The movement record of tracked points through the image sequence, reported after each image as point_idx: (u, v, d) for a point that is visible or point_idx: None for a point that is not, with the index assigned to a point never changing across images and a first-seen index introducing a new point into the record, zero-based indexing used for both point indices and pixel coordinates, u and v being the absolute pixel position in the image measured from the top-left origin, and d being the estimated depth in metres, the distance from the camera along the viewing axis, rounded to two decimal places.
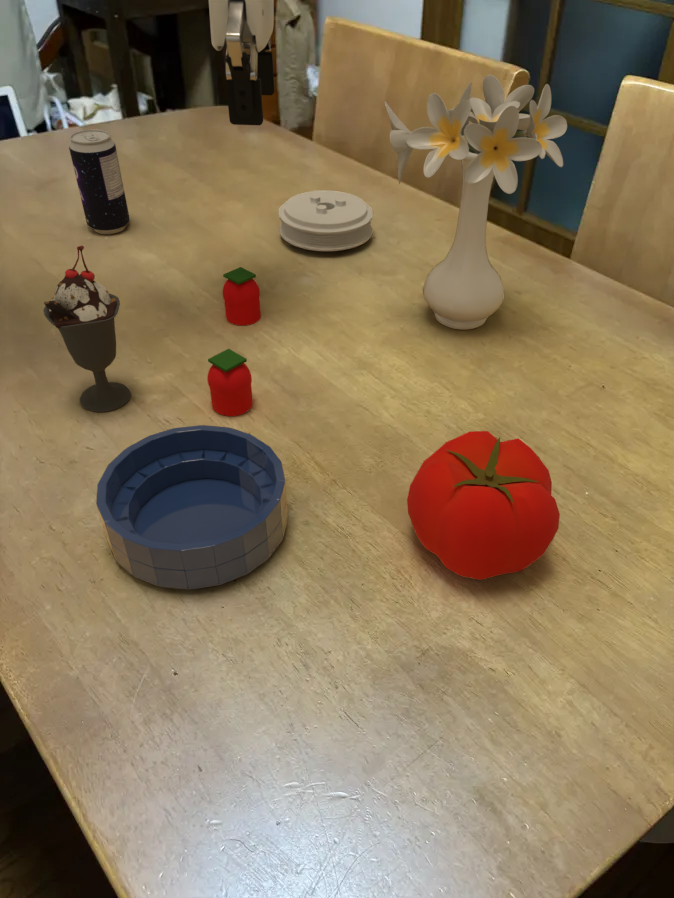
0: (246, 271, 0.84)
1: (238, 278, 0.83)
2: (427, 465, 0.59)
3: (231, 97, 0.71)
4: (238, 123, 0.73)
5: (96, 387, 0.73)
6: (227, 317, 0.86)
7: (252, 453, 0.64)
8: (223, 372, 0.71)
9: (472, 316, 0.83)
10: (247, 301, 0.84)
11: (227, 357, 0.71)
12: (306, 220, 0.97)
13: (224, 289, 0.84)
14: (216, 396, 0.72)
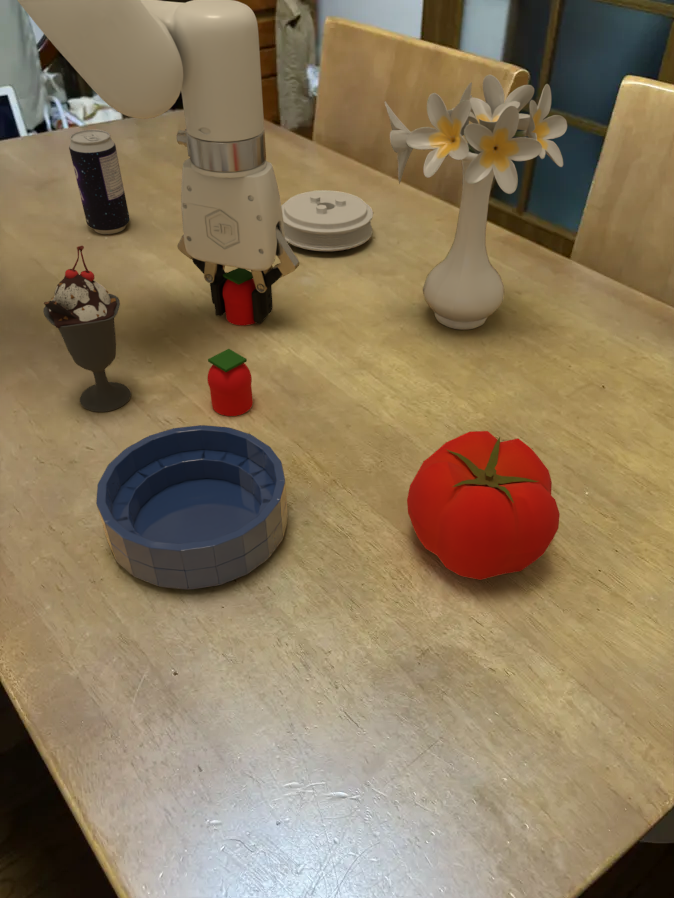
0: (246, 271, 0.84)
1: (238, 278, 0.83)
2: (427, 465, 0.59)
3: (259, 304, 0.84)
4: (262, 320, 0.86)
5: (96, 387, 0.73)
6: (227, 317, 0.86)
7: (252, 453, 0.64)
8: (223, 372, 0.71)
9: (472, 316, 0.83)
10: (247, 301, 0.84)
11: (227, 357, 0.71)
12: (306, 220, 0.97)
13: (224, 289, 0.84)
14: (216, 396, 0.72)
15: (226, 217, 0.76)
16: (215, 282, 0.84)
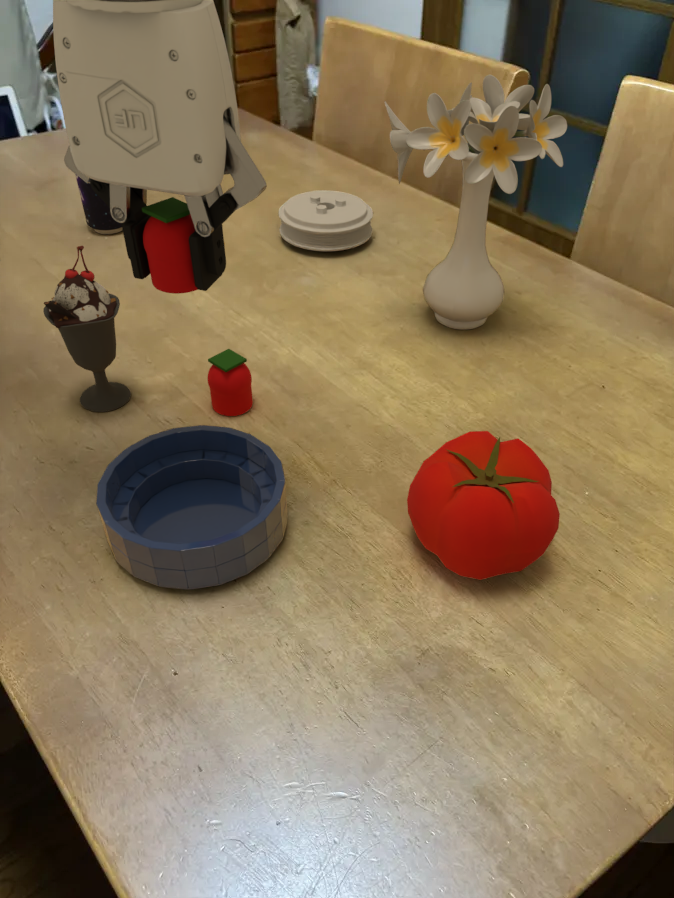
0: (181, 203, 0.51)
1: (167, 213, 0.50)
2: (427, 465, 0.59)
3: (202, 257, 0.51)
4: (209, 286, 0.53)
5: (96, 387, 0.73)
6: (153, 280, 0.53)
7: (252, 453, 0.64)
8: (223, 372, 0.71)
9: (472, 316, 0.83)
10: (182, 253, 0.51)
11: (227, 357, 0.71)
12: (306, 220, 0.97)
13: (145, 233, 0.51)
14: (216, 396, 0.72)
15: (134, 96, 0.43)
16: (129, 222, 0.51)
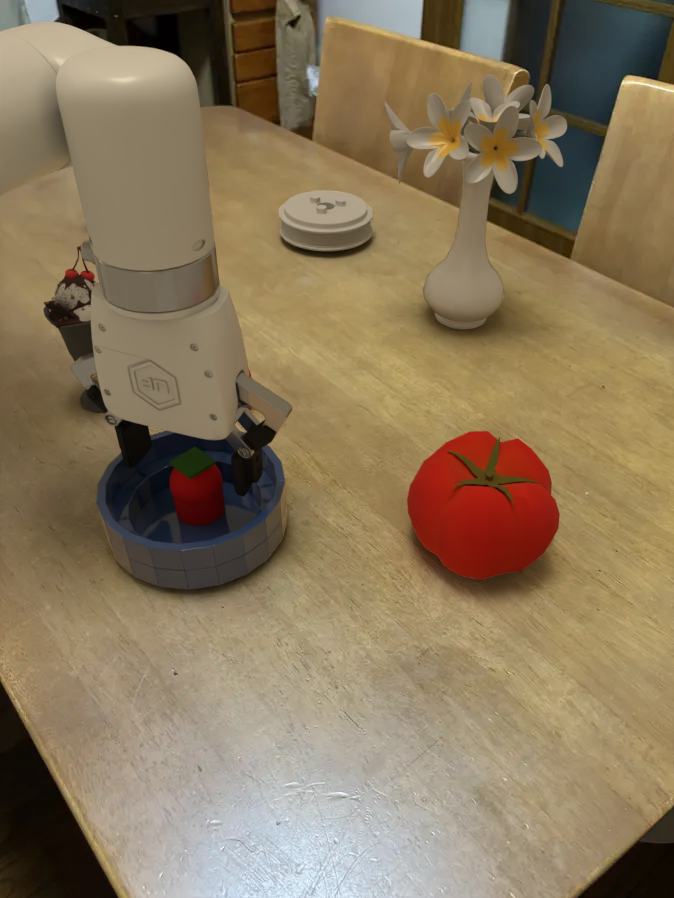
0: (202, 455, 0.60)
1: (190, 468, 0.59)
2: (427, 465, 0.59)
3: (242, 472, 0.57)
4: (247, 490, 0.58)
5: None
6: (177, 513, 0.62)
7: None
8: None
9: (472, 316, 0.83)
10: (203, 498, 0.60)
11: None
12: (306, 220, 0.97)
13: (171, 481, 0.60)
14: None
15: (159, 370, 0.50)
16: (121, 425, 0.58)
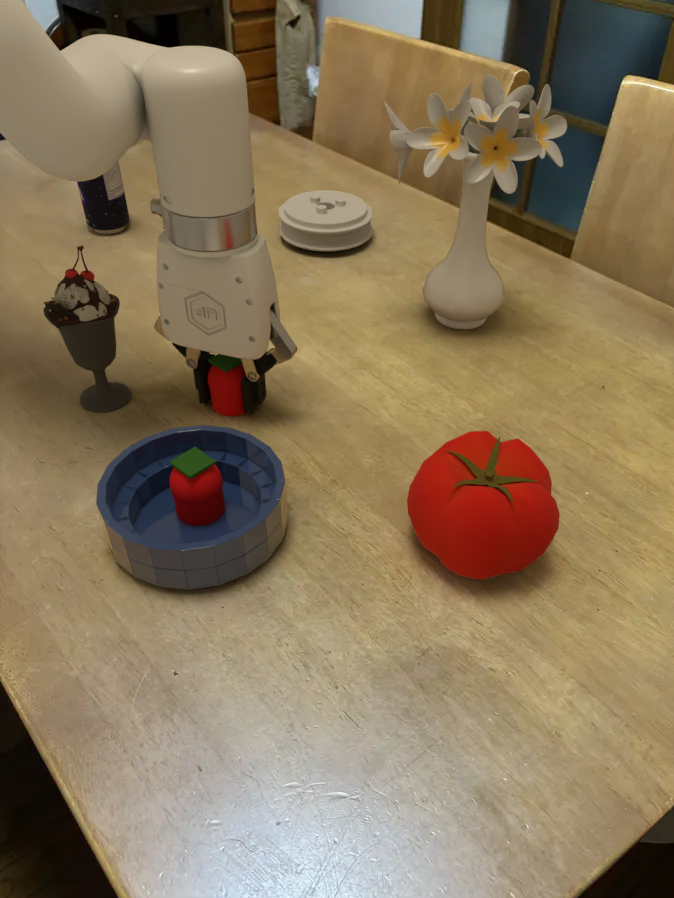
0: (202, 455, 0.60)
1: (190, 468, 0.59)
2: (427, 465, 0.59)
3: (250, 393, 0.71)
4: (254, 410, 0.73)
5: (96, 387, 0.73)
6: (177, 513, 0.62)
7: (252, 453, 0.64)
8: (223, 372, 0.71)
9: (472, 316, 0.83)
10: (203, 498, 0.60)
11: (227, 357, 0.71)
12: (306, 220, 0.97)
13: (171, 481, 0.60)
14: (216, 396, 0.72)
15: (210, 300, 0.64)
16: (199, 367, 0.72)
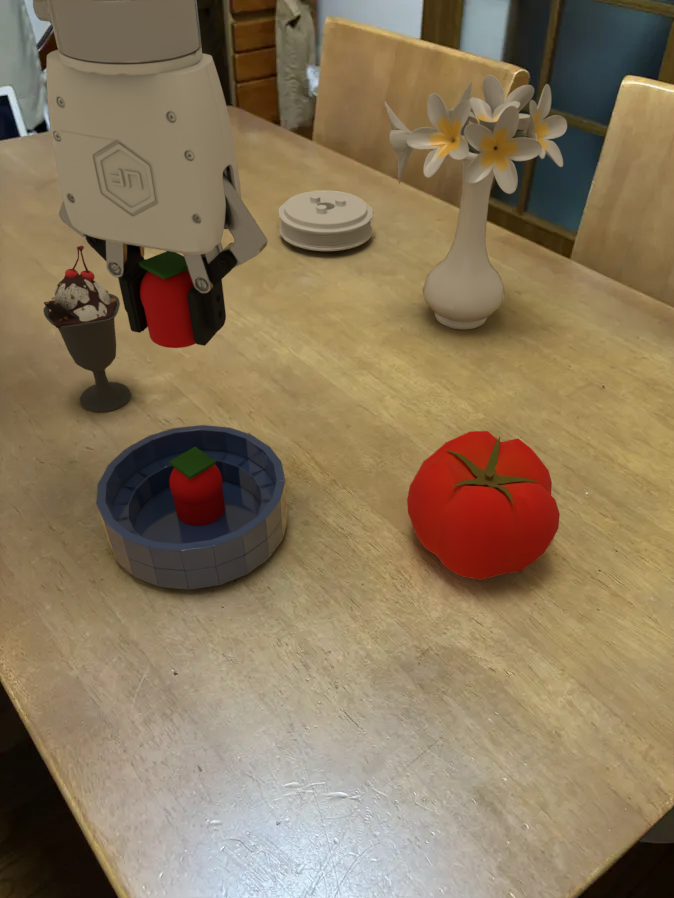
0: (202, 455, 0.60)
1: (190, 468, 0.59)
2: (427, 465, 0.59)
3: (201, 313, 0.49)
4: (208, 340, 0.51)
5: (96, 387, 0.73)
6: (177, 513, 0.62)
7: (252, 453, 0.64)
8: (160, 280, 0.49)
9: (472, 316, 0.83)
10: (203, 498, 0.60)
11: (167, 260, 0.49)
12: (306, 220, 0.97)
13: (171, 481, 0.60)
14: (153, 318, 0.50)
15: (130, 156, 0.42)
16: (126, 276, 0.49)
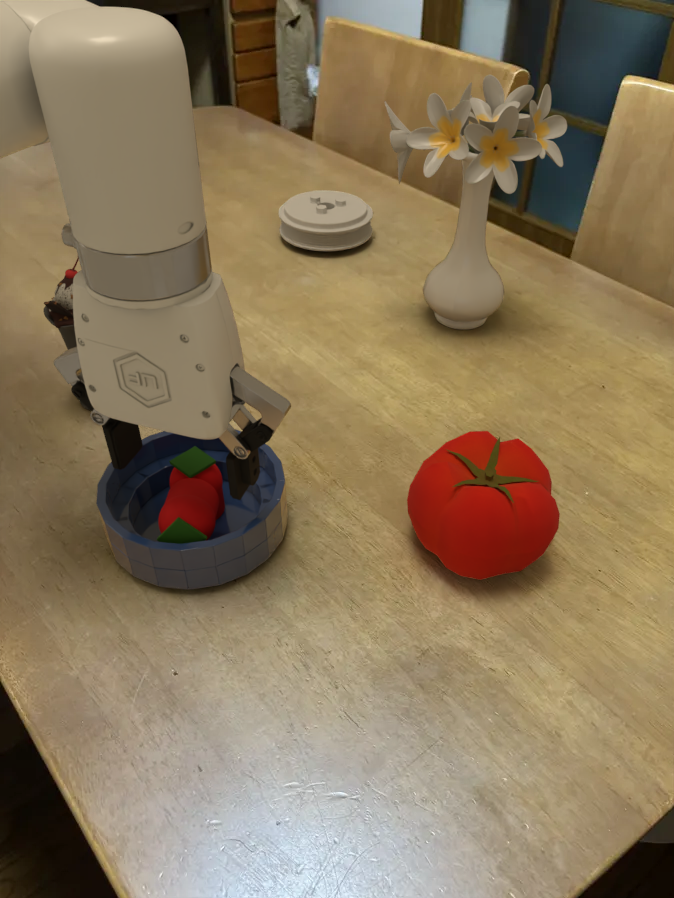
0: (202, 454, 0.60)
1: (190, 468, 0.59)
2: (427, 465, 0.59)
3: (238, 473, 0.53)
4: (243, 493, 0.55)
5: None
6: None
7: None
8: None
9: (472, 316, 0.83)
10: None
11: (181, 536, 0.55)
12: (306, 220, 0.97)
13: (171, 480, 0.60)
14: None
15: (147, 364, 0.46)
16: (109, 424, 0.54)
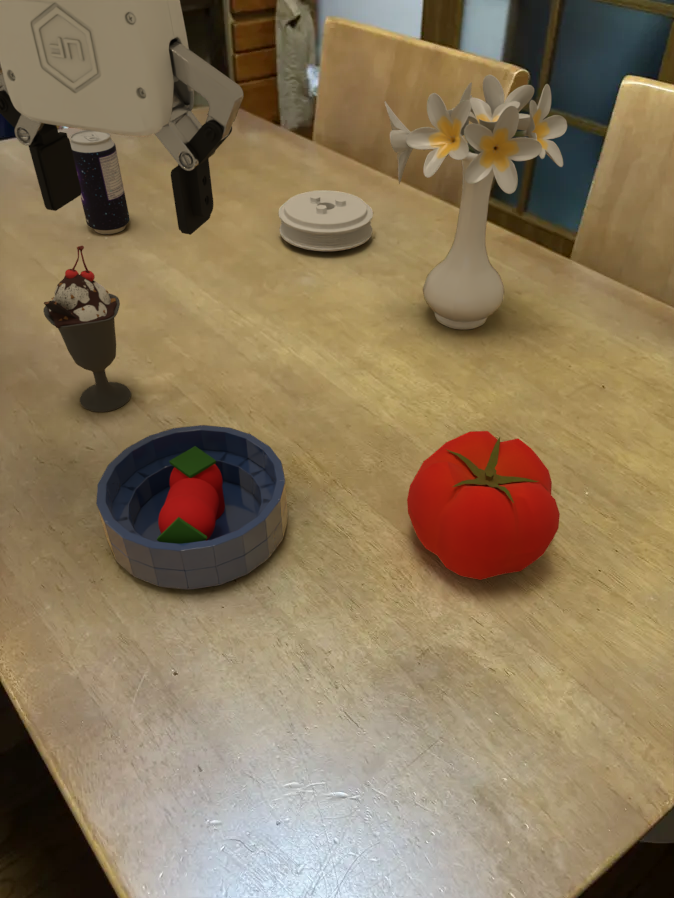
0: (202, 454, 0.60)
1: (190, 468, 0.59)
2: (427, 465, 0.59)
3: (186, 195, 0.46)
4: (194, 229, 0.48)
5: (96, 387, 0.73)
6: None
7: (252, 453, 0.64)
8: None
9: (472, 316, 0.83)
10: None
11: (181, 536, 0.55)
12: (306, 220, 0.97)
13: (171, 480, 0.60)
14: None
15: (69, 21, 0.39)
16: (37, 145, 0.47)
